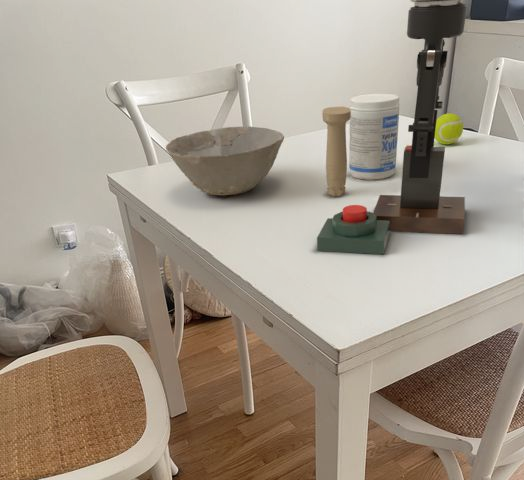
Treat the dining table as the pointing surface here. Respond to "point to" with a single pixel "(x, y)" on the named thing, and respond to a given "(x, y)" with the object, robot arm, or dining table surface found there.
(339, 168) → the handle
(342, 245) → the button box
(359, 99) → the supplement tub
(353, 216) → the button
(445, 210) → the panel
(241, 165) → the ceramic bowl
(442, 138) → the tennis ball
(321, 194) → the dining table surface
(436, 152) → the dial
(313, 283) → the dining table surface
